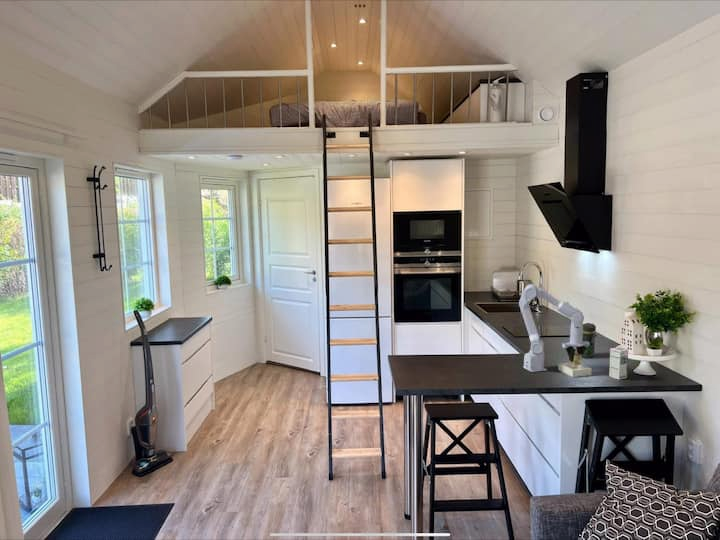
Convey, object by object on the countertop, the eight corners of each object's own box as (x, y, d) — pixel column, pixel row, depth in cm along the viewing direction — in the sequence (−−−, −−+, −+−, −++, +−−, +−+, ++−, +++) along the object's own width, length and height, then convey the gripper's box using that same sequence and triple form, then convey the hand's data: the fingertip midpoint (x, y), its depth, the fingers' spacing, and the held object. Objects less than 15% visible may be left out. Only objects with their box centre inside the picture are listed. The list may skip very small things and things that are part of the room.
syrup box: (618, 379, 243) (620, 350, 241) (608, 376, 248) (610, 347, 246) (627, 378, 245) (629, 349, 243) (616, 374, 250) (618, 346, 249)
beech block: (574, 365, 250) (574, 355, 250) (569, 362, 254) (569, 353, 254) (581, 364, 251) (581, 355, 251) (576, 362, 255) (576, 352, 255)
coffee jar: (589, 359, 275) (591, 326, 273) (575, 356, 281) (576, 324, 279) (596, 355, 282) (598, 323, 280) (582, 352, 288) (583, 321, 285)
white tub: (572, 377, 247) (572, 370, 246) (558, 370, 257) (558, 363, 257) (591, 375, 250) (591, 368, 249) (576, 368, 260) (576, 361, 260)
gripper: (569, 337, 245) (568, 364, 247) (594, 335, 249) (592, 361, 251) (560, 333, 252) (558, 360, 254) (584, 331, 256) (583, 357, 257)
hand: (575, 360), depth 253 cm, fingers closed on beech block, 4 cm apart
